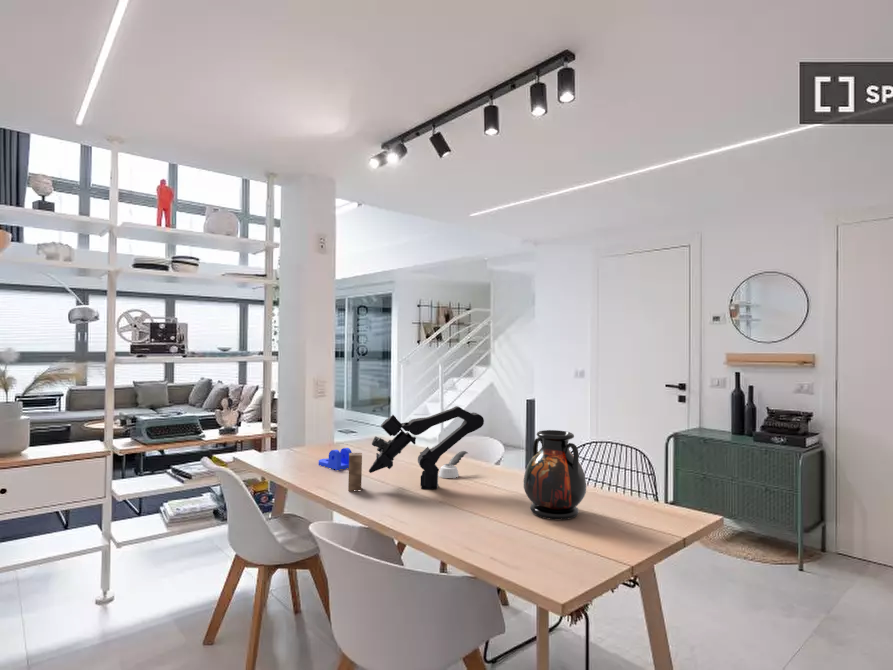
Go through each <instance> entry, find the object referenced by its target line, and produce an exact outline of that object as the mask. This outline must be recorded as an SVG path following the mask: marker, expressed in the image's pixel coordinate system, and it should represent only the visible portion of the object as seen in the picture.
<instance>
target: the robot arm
mask: <svg viewBox="0 0 893 670" xmlns="http://www.w3.org/2000/svg"><path fill="white" fill-rule="evenodd" d="M455 418H460V419H462V423H461V425H460V426H459V427H457V428H456V429H455V430H454V431H453V432H451V433H450V434H449V435H447V436H446V437H445V438H444V439H443V440H442V441H440V442H439V443H438V444H437V445H435V446H434V447H432V448H430V447H429V446H427V447H425V449H424V450H422V451H420V452H419V455H418V457H417V463H418V465H419V467H420V468H421V469H422V471H421V475H420V483H419V484H420V490H423V489H424V490H438V487H439V486H440V485H439V476H438V475H439V471H440V468H439V467H438V466H437V463H438V461H439V459H440V458H441V456H442V455H444V453H446V452H447V451H449V450H450V449H451V448H452V447H453V446H455V445H456V444H457V443H458V442H459V441H461V440H462V439H463V438H465V436H467V435H468V434H470V433H472V432H476V431H477V430H479V429H480V428H482V427H483V426H484V424H485V423H484V422H485V419H484V417H483V416H482V415H481V414H479V413H477V412H469V411H468V410H465V409H463V408H462V407H460V406H458V405H457V406H456V405H455V406H454V407H452V408H450V409H446V410H444V411H441V412H438V413H435V414H432V415H430V416H427V417H418V418H413V419H410V420H409V421H408V422H401V421H399V420H398V419H397V417H396V415H395V414H392V415H390V416H389V417H388V418H386V419H385V420H384V421H383V422H381V424H380V427H381V428H382V429H383V430H384V431H385V433H386V434H388V436H390V437H393V438H392V439H389V440H387V441H386V440H385V439H384V438H382V437H378V436H374V438H373V440H372V442H371V445H372V446H373V447H377V448H376V451H377V452H376V459H375V460H374V461H373V463H372V465H371V466H370V468H369V470H368V472H369V474H372V473H374V472H377V471H379V470H381V469H385V468H387V469H388V470H390V469H392V468H393V466H394V462H393V461H394V460H395V458H396V457H397V456H398V454H401V453H402V451H403V449H405V447H407V446H408V444H410V443H412V444H413V445H416V439H417V437H416V436H420V435H421V434H423V433H425V432H426V431H427V430H428V429H431V428H432V427H433V426H434V427H435V426H437V425H441V424H442V423H445V422H448V421H451V420H453V419H455ZM378 452H379V453H378Z"/></svg>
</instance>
